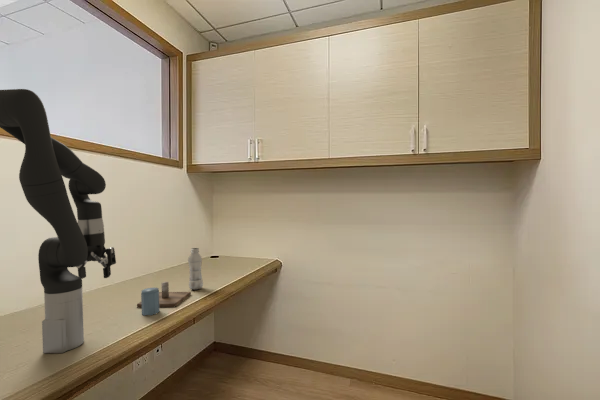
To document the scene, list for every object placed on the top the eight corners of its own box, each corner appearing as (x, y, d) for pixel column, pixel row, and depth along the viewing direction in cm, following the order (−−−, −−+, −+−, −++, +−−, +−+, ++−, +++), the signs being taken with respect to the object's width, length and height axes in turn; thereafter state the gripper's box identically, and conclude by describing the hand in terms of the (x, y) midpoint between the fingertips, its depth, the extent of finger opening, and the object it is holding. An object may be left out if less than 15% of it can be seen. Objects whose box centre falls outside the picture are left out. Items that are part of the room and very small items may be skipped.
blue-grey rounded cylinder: (154, 315, 117) (154, 291, 117) (138, 315, 117) (137, 292, 117) (162, 309, 123) (161, 287, 123) (147, 310, 123) (146, 287, 123)
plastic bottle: (198, 291, 147) (197, 249, 147) (186, 290, 148) (184, 249, 148) (205, 287, 153) (204, 247, 153) (193, 287, 154) (192, 247, 154)
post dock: (175, 307, 126) (174, 287, 126) (137, 307, 126) (136, 288, 126) (190, 294, 142) (190, 277, 142) (156, 295, 142) (156, 278, 142)
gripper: (62, 234, 102) (66, 281, 103) (104, 233, 102) (107, 280, 103) (79, 230, 110) (82, 275, 111) (118, 229, 109) (121, 274, 110)
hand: (95, 277), depth 107 cm, fingers open, 8 cm apart
